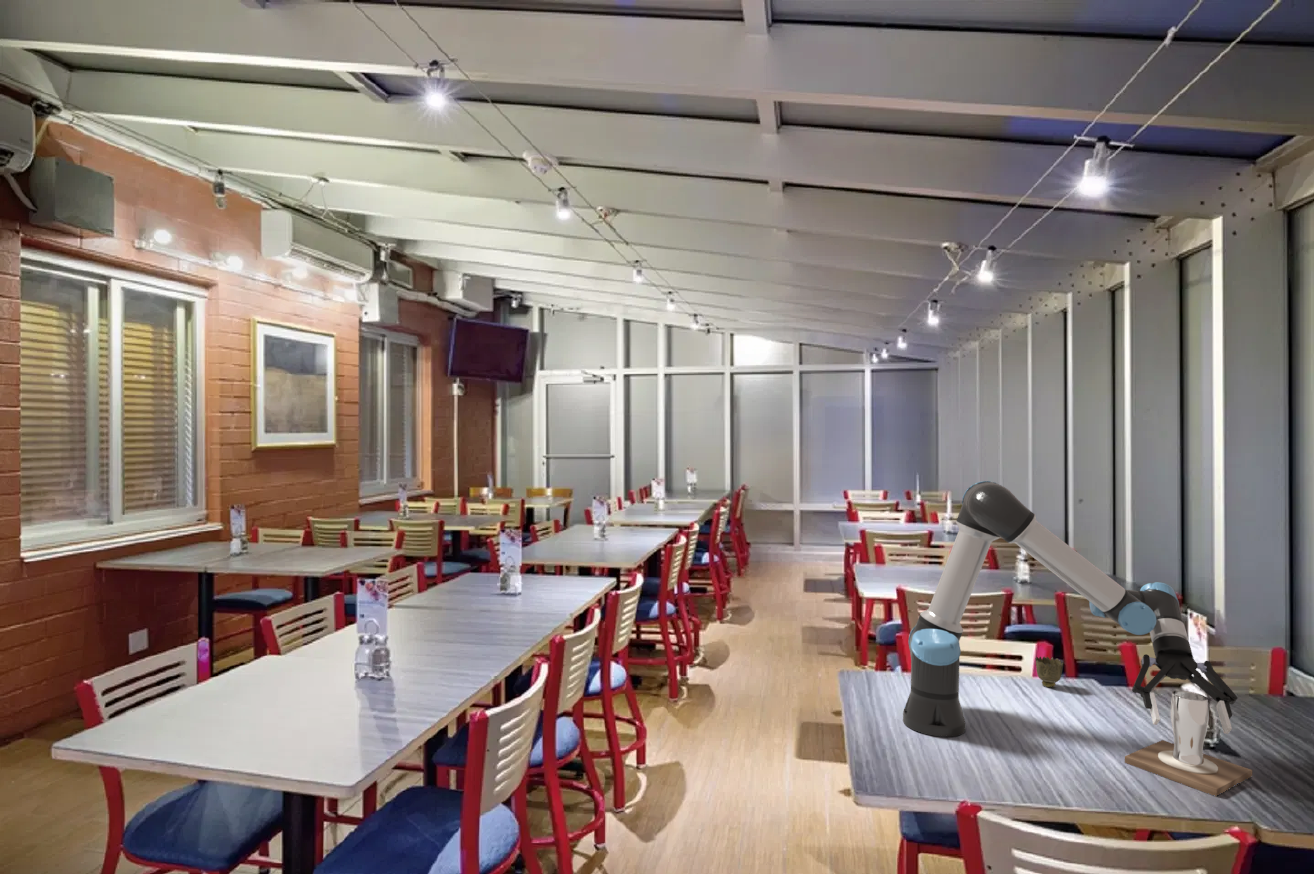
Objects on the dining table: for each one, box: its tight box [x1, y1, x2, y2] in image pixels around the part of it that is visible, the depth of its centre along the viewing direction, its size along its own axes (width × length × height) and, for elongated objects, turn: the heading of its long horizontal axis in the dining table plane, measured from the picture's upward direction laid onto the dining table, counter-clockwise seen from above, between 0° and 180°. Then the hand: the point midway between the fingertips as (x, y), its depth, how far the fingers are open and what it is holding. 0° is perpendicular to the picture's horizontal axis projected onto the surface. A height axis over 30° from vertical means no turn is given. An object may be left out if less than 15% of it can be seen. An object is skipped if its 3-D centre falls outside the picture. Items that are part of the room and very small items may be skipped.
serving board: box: [1124, 739, 1253, 797], centre depth 165 cm, size 18×18×2 cm
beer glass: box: [1170, 690, 1209, 767], centre depth 165 cm, size 7×7×15 cm
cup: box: [1035, 656, 1064, 689], centre depth 219 cm, size 8×7×8 cm
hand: (1191, 726), depth 164 cm, fingers open, 13 cm apart
